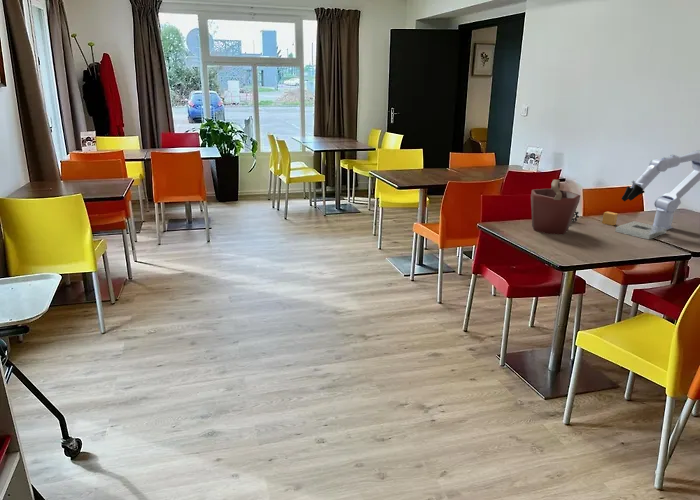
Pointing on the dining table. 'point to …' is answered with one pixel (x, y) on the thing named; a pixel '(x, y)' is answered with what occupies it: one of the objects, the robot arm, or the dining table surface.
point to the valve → (576, 216)
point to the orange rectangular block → (609, 218)
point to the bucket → (553, 209)
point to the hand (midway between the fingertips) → (625, 199)
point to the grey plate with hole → (641, 230)
